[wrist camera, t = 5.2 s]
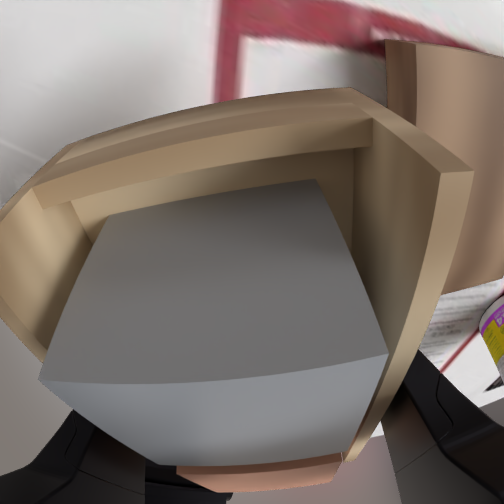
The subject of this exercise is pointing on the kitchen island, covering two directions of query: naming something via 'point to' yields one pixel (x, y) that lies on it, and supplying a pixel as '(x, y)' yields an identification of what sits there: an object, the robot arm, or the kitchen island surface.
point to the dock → (459, 139)
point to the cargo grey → (221, 331)
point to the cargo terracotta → (264, 474)
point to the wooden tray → (247, 176)
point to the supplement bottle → (494, 332)
